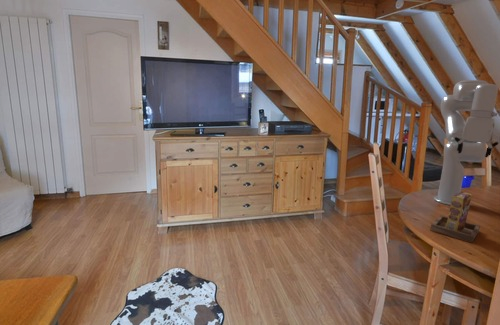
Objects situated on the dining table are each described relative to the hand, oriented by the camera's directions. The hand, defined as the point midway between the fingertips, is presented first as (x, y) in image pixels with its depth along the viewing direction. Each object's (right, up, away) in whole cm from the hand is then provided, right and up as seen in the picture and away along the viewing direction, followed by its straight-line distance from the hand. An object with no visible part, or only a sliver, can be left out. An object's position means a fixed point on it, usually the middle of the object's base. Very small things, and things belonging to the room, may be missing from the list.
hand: (472, 154), depth 133 cm
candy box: (-11, -31, -5) cm, 34 cm away
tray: (-11, -32, -5) cm, 34 cm away
